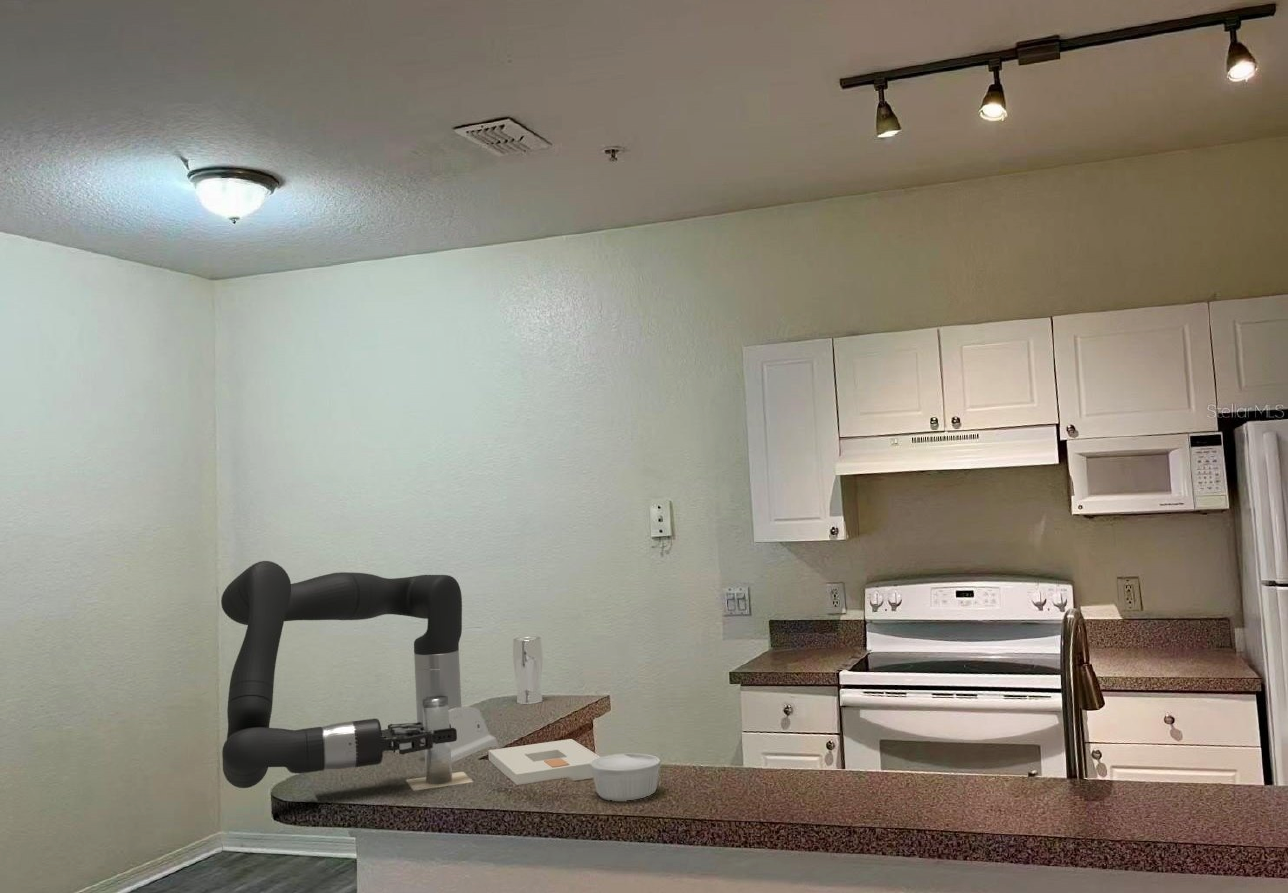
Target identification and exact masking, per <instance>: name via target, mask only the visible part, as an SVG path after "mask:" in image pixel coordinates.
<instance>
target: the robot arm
mask: <svg viewBox="0 0 1288 893" xmlns="http://www.w3.org/2000/svg"><path fill="white" fill-rule="evenodd" d="M220 602H221V608H222V611H223V612H224V613H225V615H226V616H227V617H228V618H229V619H230V620H232V621H234V622H236V623H238V624H241V625H244V626H247V627H246V631H245V635H244V638H243V641H242V644H241V645H240V649H239V652H238V654H237V658H236V660H235V663H234V665H233V669H232V672H231V677H230V680H229V688H228V697H227V712H226V714H227V735H226V740H225V741H224V744H223V746H222V750H221V752H222V753H221V755H222V772H223V775H224V777H225V779H226V781H227V782H229V784H230V785H232V786H234V787H236V788H239V789H248V788H252V787H254V786H256V785H258V784H259V783H260V782H261V781H262V780H263V779H264V778H265V776H266V775H267V772H268V770H269V768H286V769H287V771H288V772H290V773H292V774H306V773H313V772H314V773H315V772H321V771H338V770H339V771H341V770H347V769H354V768H362V767H368V766H369V767H370V766H377V765H380V764H381V763H382V761H383V758H384V757H383V753H384V752H385V751H387V752H390V751H392V753H393V754H399V755H405V754H410V753H416V752H420V751H424V750H426V749H431V748H433V746H434V745H435V744H439V743H446V742H454V741H456V740H457V730H456V729H455V728H451V725H450V723H449V726H450V728H446V729H439V730H425V731H423V711H422V699H423V698H426V697H430V696H448V707H449V710H450V709H454V708H459V707H462V689H461V687H462V686H461V671H460V670H461V668H460V667H461V665H460V650H459V648H460V647H459V646H460V640H461V637H462V630H463V628H462V626H463V597H462V591H461V587H460V585H459V582H458V581H457V579H456V578H455V577H453V576H452V575H448V574H420V575H414V576H406V577H396V578H389V577H387V578H386V577H382V576H380V575H379V576H378V575H377V574H372V573H363V572H346V571H345V572H341V571H340V572H333V573H328V574H324V575H319V576H315V577H312V578H309V579H305V580H301V581H298V582H295V583H291V578H290V576H289V575H288V572H287V571H286V570H285V569H284V568H283V567H282V566H281V565H279V563H276V562H274V561H270V560H262V561H258V562H255V563H253V564H252V565H250V566H249V567H248V568H246V569H245V570H243V572H241V573H240V574H239V575H237V576H236V577H235V578H234V579H233V580H231V582H230V583H229V584H228V585H227V586H226V588H225V589H224V591H223V593H222V595H221V600H220ZM385 615H395V616H406V617H412V618H417V619H425V620H427V628H426V631H425V633H424V634H423V635H421V636H419V637H417V638H416V639H415V640H414V642H413V655H414V656H413V657H414V658H413V659H414V677H415V678H414V681H415V699H416V700H415V702H416V722H409V723H407V722H406V723H390V724H388V725H387V729H385V728H384V729H382V725H381V721H380V720H379V719H378V718H368V719H360V720H350V721H345V722H335V723H332V724H329V725H323V726H317V727H316V726H315V727H308V728H307V727H306V728H300V729H295V730H294V729H289V728H288V729H286V728H280V727H279V728H278V727H277V728H276V727H270V722H271V717H272V711H273V703H274V702H273V701H274V686H275V684H274V683H275V671H276V666H277V665H276V664H277V657H278V652H279V646H280V641H281V636H282V632H283V626H284V623H285V622H293V621H362V620H368V619H375V618H377V617H380V616H385ZM424 738H425V742H424Z"/></svg>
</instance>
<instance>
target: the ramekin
mask: <svg viewBox="0 0 1288 893" xmlns="http://www.w3.org/2000/svg"><path fill="white" fill-rule="evenodd" d="M661 764H662V762H661V760H660V759H659V757H657V756H655V755H650V754H645V753H636V752H635V753H615V754H608V755H604V756H600V758H597V759H595V760H593V761H592V762H591V764H590V768H591V771H592V773H593V778H592V779H593V783H594V787H595V791H596V794H597V795H598V796H599V797H600V798H601V799H602V800H607V801H610V800H612V801H611V802H628V801H627V800H633V799H639V798H643V797H646V796H649V795H651V794H653V793H654V794H655V792H656V790H657V787H658V780H659V774H660V773H659V771H660V768H661ZM654 794H653V795H654ZM651 796H652V795H651ZM649 797H650V796H649Z"/></svg>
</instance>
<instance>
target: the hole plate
mask: <svg viewBox="0 0 1288 893" xmlns="http://www.w3.org/2000/svg"><path fill="white" fill-rule="evenodd" d="M487 752H488V761H489V762H491V763H492V764H493V766H495V767H496V768H497V769H498V770H499V771H500V772H502V773H503V774H504V775H505V776H506V777H507V778H509V780H510V781H512V782H513V783H514V784H515V785H516V786H518V785H519V786H520V785H525V784H533V783H534V784H535V783H539V782H545V781H553V780H559V779H566V778H569V779H570V780H572V781H573V782H576V781H582V780H590V779H594V778H593V773H592V771H591V768H590V764H591V762H592V761H593V760H595V759H597V758H600V757H601V756H600V755H598V754H596V753H595V752H594V751H592V750H590V749H589V748H587V747H585V746H584V745H582V744H581V743H579V742H578V741H576V740H574V739H572V738H567V739H560V740H552V741H545V742H540V743H533V744H532V743H531V744H527V745H526V744H525V745H518V746H511V747H509V746H508V747H502V748H496V749H489V750H488V751H487Z"/></svg>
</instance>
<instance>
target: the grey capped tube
mask: <svg viewBox="0 0 1288 893" xmlns="http://www.w3.org/2000/svg"><path fill="white" fill-rule="evenodd" d="M422 711H423V731H425V730H439V729H446V728H450V726H449V707H448V696H430V697H426V698H423V699H422ZM423 742H425V738H424V740H423ZM423 751H424V766H425V768H424V769H425V777H426V783H428V784H442V783H447V782H450V781H451V780H452V773H453V772H452V771H453V770H452V765H453V764H452V763H451V746H450V742H446V743H439V744H435V745H434V746H433V748H431V749H426V750H423Z"/></svg>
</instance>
